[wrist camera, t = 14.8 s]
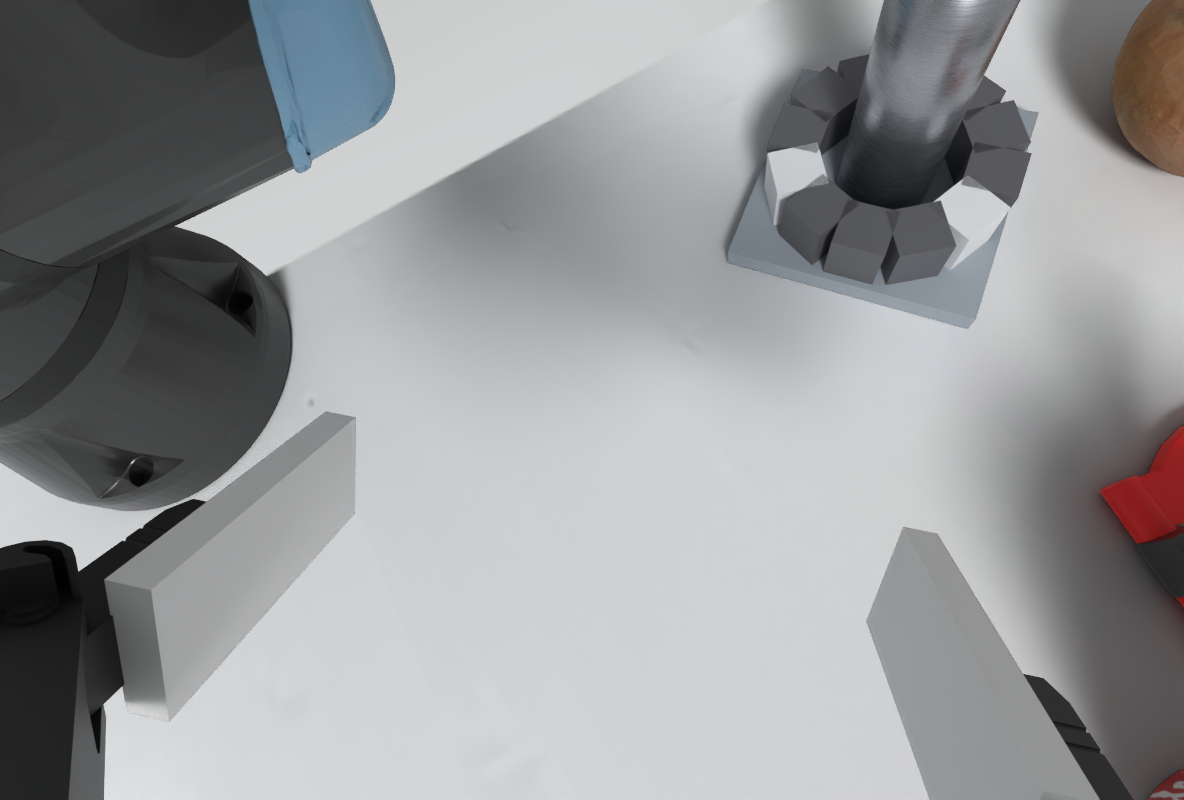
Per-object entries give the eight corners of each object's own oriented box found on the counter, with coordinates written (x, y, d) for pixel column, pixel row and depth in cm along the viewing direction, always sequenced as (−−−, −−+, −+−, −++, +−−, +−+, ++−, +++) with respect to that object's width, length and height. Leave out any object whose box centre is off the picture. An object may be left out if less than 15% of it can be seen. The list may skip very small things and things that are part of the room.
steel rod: (825, 208, 31) (900, -87, 18) (851, 139, 32) (941, -190, 19) (913, 230, 30) (1061, -68, 17) (938, 158, 31) (1097, -179, 18)
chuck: (727, 262, 32) (728, 222, 29) (800, 83, 35) (808, 28, 31) (967, 328, 29) (998, 292, 26) (1029, 127, 32) (1064, 70, 28)
